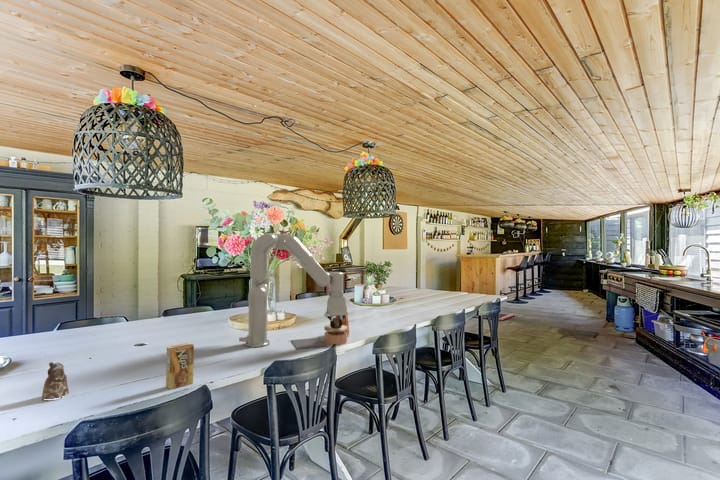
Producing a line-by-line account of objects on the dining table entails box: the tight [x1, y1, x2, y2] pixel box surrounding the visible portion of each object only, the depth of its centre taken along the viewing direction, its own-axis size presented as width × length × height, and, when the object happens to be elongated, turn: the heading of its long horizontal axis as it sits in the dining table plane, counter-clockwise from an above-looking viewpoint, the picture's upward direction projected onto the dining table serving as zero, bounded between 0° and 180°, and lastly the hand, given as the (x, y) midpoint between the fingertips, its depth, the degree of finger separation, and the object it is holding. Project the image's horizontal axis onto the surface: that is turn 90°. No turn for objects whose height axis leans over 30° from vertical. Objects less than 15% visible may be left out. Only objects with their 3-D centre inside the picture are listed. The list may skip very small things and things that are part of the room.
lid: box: [323, 317, 348, 332], centre depth 207 cm, size 13×13×6 cm
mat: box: [290, 337, 328, 350], centre depth 202 cm, size 16×16×1 cm
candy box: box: [165, 342, 195, 390], centre depth 144 cm, size 9×4×15 cm, turn 137°
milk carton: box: [334, 305, 350, 338], centre depth 223 cm, size 9×9×20 cm
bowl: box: [323, 330, 348, 346], centre depth 207 cm, size 12×12×5 cm
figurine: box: [41, 361, 69, 400], centre depth 132 cm, size 7×7×12 cm
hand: (336, 327), depth 207 cm, fingers closed on lid, 3 cm apart
